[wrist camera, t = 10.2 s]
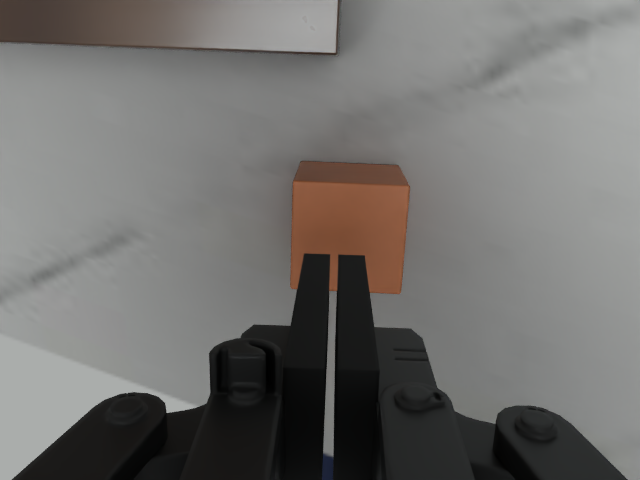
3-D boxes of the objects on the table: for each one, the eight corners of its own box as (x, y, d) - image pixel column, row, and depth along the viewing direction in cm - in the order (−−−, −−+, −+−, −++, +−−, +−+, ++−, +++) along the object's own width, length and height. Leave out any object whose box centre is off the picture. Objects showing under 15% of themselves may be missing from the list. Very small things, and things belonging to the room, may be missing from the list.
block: (391, 258, 27) (401, 294, 23) (297, 254, 27) (289, 289, 23) (399, 164, 26) (410, 185, 22) (300, 160, 26) (292, 180, 22)
